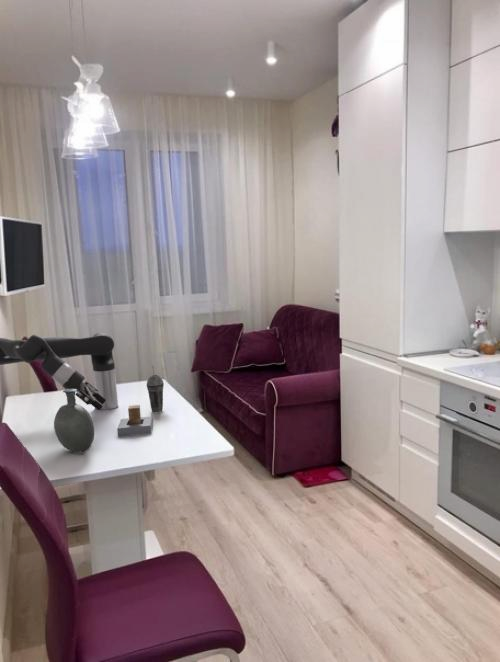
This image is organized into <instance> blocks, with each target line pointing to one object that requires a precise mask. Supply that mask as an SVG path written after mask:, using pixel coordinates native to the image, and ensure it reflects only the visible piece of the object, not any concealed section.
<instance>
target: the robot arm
mask: <svg viewBox="0 0 500 662" xmlns="http://www.w3.org/2000/svg"><path fill="white" fill-rule="evenodd" d="M114 348H115V341H114V339H113V338H112V336H110V335H109V334H107V333H105V332H97V333H95V334H94V335H92V336H89V337H78V338H77V337H67V336H66V337H65V336H64V337H63V336H62V337H61V336H59V337H58V336H53V337H42V336H41V335H39V334H31V336H29V337H28V338H27V340H25V339H16V340H15V339H9V338H5V337H4V338H3V337H0V366H2V365H10V364H16V363H17V364H18V363H24V362H25V363H26V364H30V363H33V362H37V361H42V363H41V364H40V369H42V371H44V373H46V374H47V375H48V376H50V377H51V378H52V379H53V380H54V381H55V382H56V383H57V384H59V385H60V386H62V388H64V390H66V389H77V390H78V391H76V392H75V397H77V398H79V399H80V400H81V401H82V402H84V403H85V405H88V406H89V405H91V406H92V407H94V408H95V409H96V410H98V411H107V410H112V409H115V408H118V407H119V401H118V389H117V388H118V387H117V378H116V367H115V360H114V358H113V350H114ZM78 356H90V357H91V365H92V372H93V382H94V383H93V384H94V386H93V385H92V384H90V383H89V381H85V382H84V380H85V378H86V377H85V376H83V375H82V374H81V373H80V372H79V371H77V370H76V368H74V367H72V366H71V365H70V364H68V363H67V362H66V361H64V360H63V359H66V358H72V357H78Z"/></svg>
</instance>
